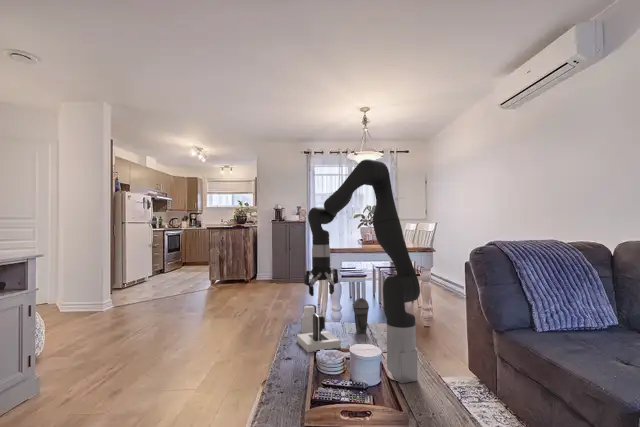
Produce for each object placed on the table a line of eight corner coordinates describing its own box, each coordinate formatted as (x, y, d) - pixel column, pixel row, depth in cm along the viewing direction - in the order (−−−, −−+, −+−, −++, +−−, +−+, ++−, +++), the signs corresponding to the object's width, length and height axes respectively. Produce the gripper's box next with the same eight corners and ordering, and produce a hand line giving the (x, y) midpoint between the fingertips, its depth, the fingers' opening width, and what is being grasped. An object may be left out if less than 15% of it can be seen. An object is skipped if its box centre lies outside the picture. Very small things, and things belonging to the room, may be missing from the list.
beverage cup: (370, 335, 166) (369, 290, 166) (353, 335, 166) (353, 290, 166) (368, 330, 173) (367, 287, 173) (352, 330, 173) (352, 287, 174)
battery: (325, 344, 151) (325, 316, 151) (316, 345, 150) (316, 316, 150) (321, 339, 157) (321, 312, 158) (312, 340, 156) (312, 312, 157)
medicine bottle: (303, 328, 176) (303, 303, 177) (318, 329, 175) (318, 303, 176) (300, 333, 169) (300, 306, 170) (316, 333, 168) (316, 307, 169)
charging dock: (340, 347, 149) (340, 340, 150) (307, 352, 144) (307, 344, 145) (327, 337, 163) (327, 330, 163) (296, 341, 158) (296, 334, 158)
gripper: (333, 254, 160) (333, 292, 160) (301, 255, 155) (302, 294, 154) (340, 255, 153) (341, 295, 153) (307, 256, 148) (308, 297, 147)
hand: (321, 294), depth 154 cm, fingers open, 8 cm apart
